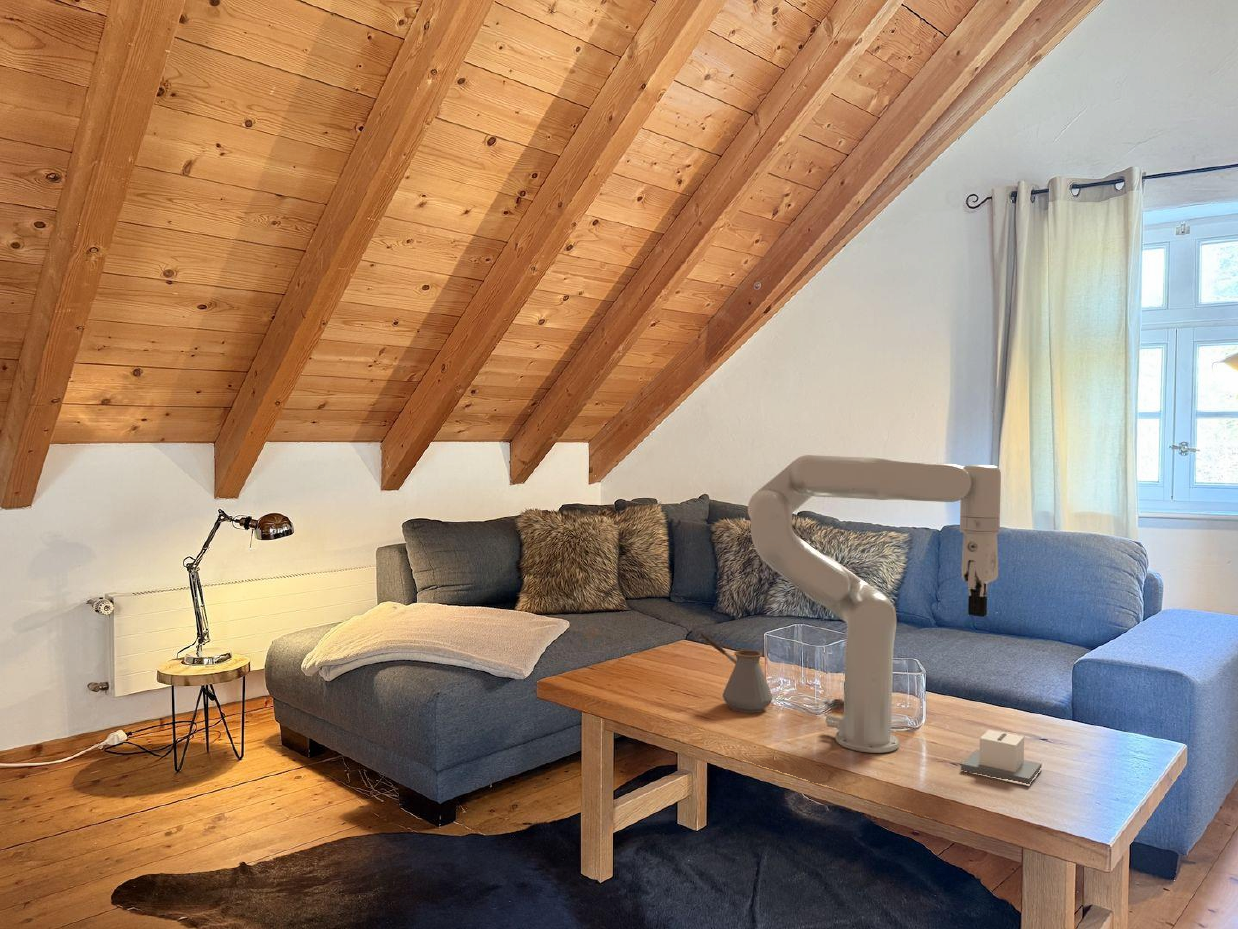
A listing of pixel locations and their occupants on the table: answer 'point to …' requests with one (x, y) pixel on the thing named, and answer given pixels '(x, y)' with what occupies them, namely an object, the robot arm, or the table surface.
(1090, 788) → the table surface
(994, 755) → the cream coin box
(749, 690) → the coffee pot
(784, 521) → the robot arm
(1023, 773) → the plate
